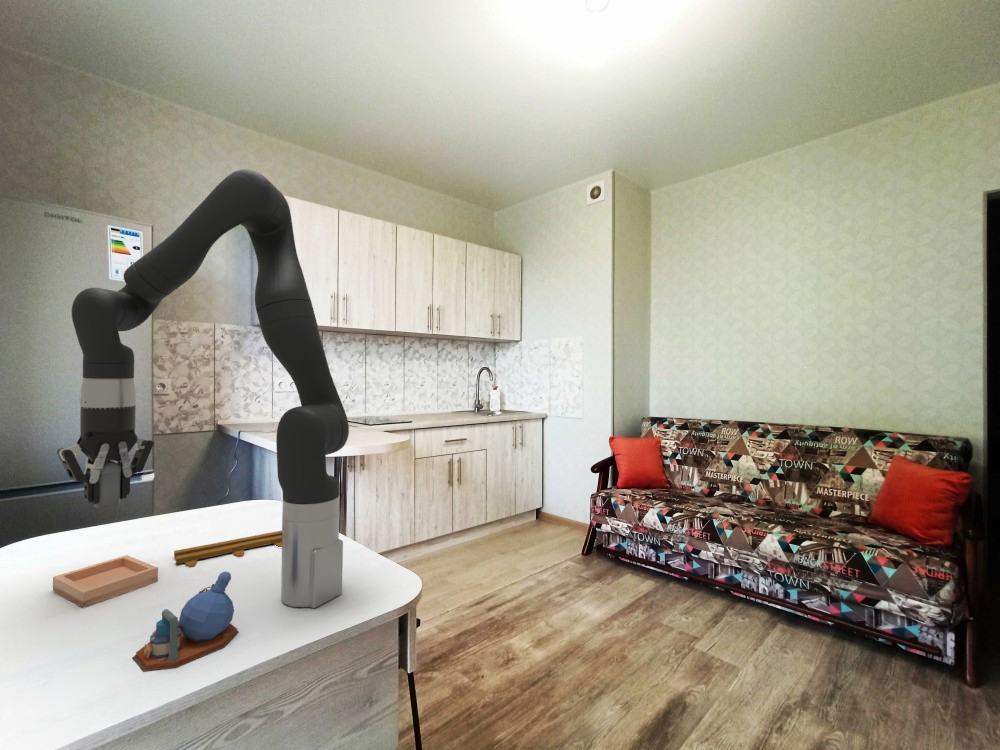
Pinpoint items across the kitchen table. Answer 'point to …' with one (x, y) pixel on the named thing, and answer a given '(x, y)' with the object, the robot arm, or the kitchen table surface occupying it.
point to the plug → (109, 485)
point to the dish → (104, 580)
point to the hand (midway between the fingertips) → (107, 500)
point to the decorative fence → (226, 548)
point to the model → (191, 630)
